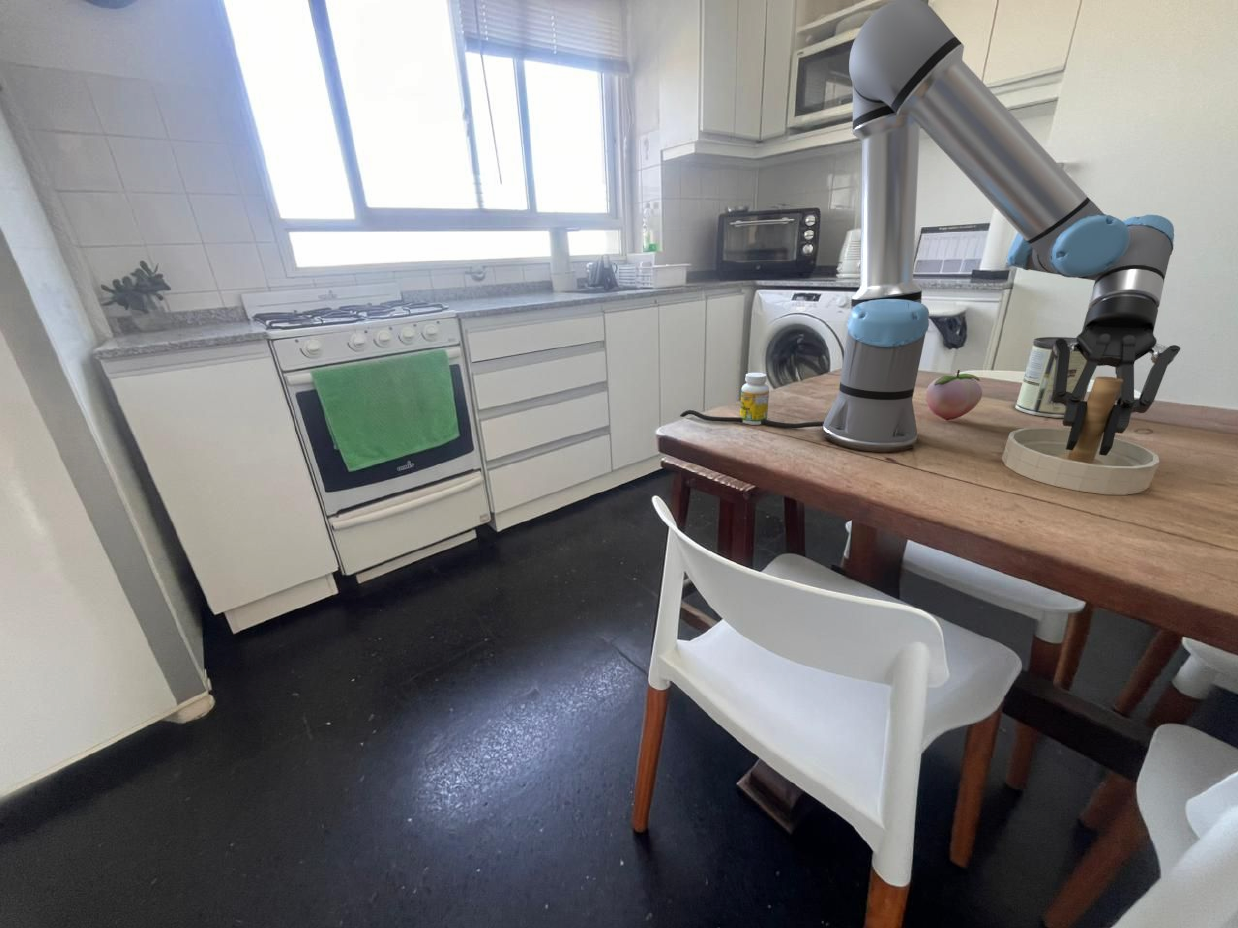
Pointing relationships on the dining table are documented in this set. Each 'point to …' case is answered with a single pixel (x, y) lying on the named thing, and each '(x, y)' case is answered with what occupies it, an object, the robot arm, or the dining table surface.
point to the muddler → (1095, 420)
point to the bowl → (1079, 463)
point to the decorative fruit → (953, 395)
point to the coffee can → (1047, 379)
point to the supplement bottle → (754, 399)
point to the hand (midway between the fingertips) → (1088, 447)
